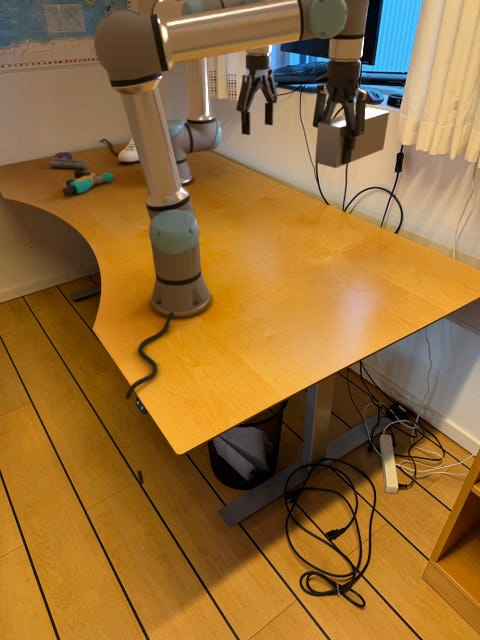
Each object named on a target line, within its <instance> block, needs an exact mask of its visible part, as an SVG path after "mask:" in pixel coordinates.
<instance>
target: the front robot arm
mask: <svg viewBox="0 0 480 640" xmlns="http://www.w3.org/2000/svg"><path fill="white" fill-rule="evenodd" d="M369 5H370V0H270V1H264V2H258V3H253V4H247V5H241V6H236V7H230V8H224V9H219V10H213V11H207V12H202V13H196V14H190V15H185V16H179V17H173V18H168V19H165V18H163V17H162V16H161V15H159V14H153V15H150V14H148V15H141V14H140V13H138V12H137V11H134V10H131V9H127V8H125V9H116V10H113V11H111V12H109V13H108V14H107V15H106V16H105V17H104V18H103V19H102V21H100V23H99V25H98V26H97V27H96V30H95V34H94V52H95V54H96V57H97V59H98V62H99V63H100V65H101V67H102V68H103V69H104V70H105V71H106V73H107V77H108V80H109V84H110V87H111V88H112V89H113V90H114V91H116V92H117V93H119V94H120V97H121V100H122V104H123V107H124V112H125V115H126V117H127V118H126V119H127V122H128V125H129V129H130V132H131V137H133V140H134V143H135V147H136V150H137V154H138V157H139V161H140V162H139V164H140V169H141V171H142V174H143V178H144V182H145V186H146V188H147V191H148V193H147V195H146V197H145V199H144V202H145V207H146V210H147V214H148V216H149V220H150V222H149V226H148V227H149V230H148V237H149V241H150V245H151V253H152V260H153V268H154V274H155V275H154V276H155V281H154V284H153V290H152V294H151V305H152V308H153V310H154V311H155V312H156V313H157V314H159V315H160V316H163V317H167V319H166V321H165V323H164V326H163V328H162V329H161V330H160V331H159V332H157V333H155V334H153V335H151V336H150V337H147V338H145V339H144V340H142V341H141V342H140V344H139V346H138V353H139V355H140V357H141V358H142V359H144V360H145V361H146V362H147V363H149V364H150V365H151V368H152V371H151V372H150V373H149V374H148V375H146V376H144V377H142V378H140V379H137V381H135V382H134V383H132V384H131V385H130V387H129V388H128V390H127V391H126V394H125V400H130V399H131V397H132V394H133V393H134V391H135V390H136V389H137V387H139V386H140V385H142V384H145V383H146V382H149V381H150V380H152V379H153V378H155V376H156V375H157V373H158V365H157V363H156V362H155V361H154V360H153V359H152V358H151V357H150V356H148V355H147V354H146V353H145V352H144V347H145V346H146V345H147V344H149V343H151V342H152V341H155V340H156V339H158V338H160V337H162V336H163V335H164V334H165V333H166V332H167V331H168V329H169V327H170V324H171V321H172V319H183V318H185V319H186V318H190V317H194V316H196V315H199V314H201V313H202V312H204V311H205V310H207V308H208V307H209V306H210V303H211V292H210V290H209V288H208V286H207V284H206V281H205V278H204V277H203V275H202V262H201V261H202V259H201V247H200V227H199V224H198V221H197V219H196V212H195V209H194V207H193V204H192V203H193V202H192V199H191V196H190V191H189V189H188V188H186V187H185V186H182V185H181V182H180V178H179V173H178V169H177V165H176V161H175V157H174V152H173V148H172V144H171V140H170V136H169V131H168V127H167V123H166V121H167V120H166V116H165V111H164V107H163V102H162V98H161V95H160V89H159V83H160V82H161V80H162V79H163V74H162V73H164V72H169V71H171V70H172V68H173V66H174V65H175V64H181V63H186V61H191V60H197V59H202V58H212V57H219V56H224V55H228V54H233V53H239V52H244V51H245V52H246V50H250V49H256V48H261V47H266V46H271V47H273V46H276V45H277V46H278V45H281V44H282V45H283V44H287V43H292V42H297V41H305V40H311V39H316V38H317V39H321V40H326V39H327V40H328V39H329V47H328V55H327V56H328V58H329V60H328V62H327V70H326V78H327V81H326V83H322V84H317V85H316V86H315V90H316V99H315V106H314V111H313V117H312V118H313V120H312V127H313V128H316V129H317V130H318V123H319V122H323V121H326V120H329V119H332V117H333V114H334V112H335V109H336V106H337V105H338V104H340V105H341V109H343V113H344V114H343V115H345V121H346V127H347V134H348V136H346V137H345V140H344V149H343V158H342V164H345V165H348V164H350V163H352V162H351V154H352V150H354V149H355V142H356V137H357V136H360V135H363V134H364V128H365V109H366V108H367V107H366V106H367V100H368V96H369V93H370V92H369V91H368V90H363V89H361V88H360V87H359V82H358V81H359V78H360V74H361V65H362V61H361V60H360V59H361V58H362V56H363V49H364V39H365V29H366V24H367V23H366V22H367V16H368V9H369ZM327 93H328V95H327ZM349 162H350V163H349ZM347 163H348V164H347ZM136 473H137V477H138V478H137V479H138V482H139V485H143V484H144V483H145V482H144V476H143V471H142V470H139V469H138V470H136Z"/></svg>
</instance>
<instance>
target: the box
mask: <svg viewBox="0 0 480 640" xmlns="http://www.w3.org/2000/svg"><path fill="white" fill-rule="evenodd" d="M389 115H390V111H389V110H382V109H377V108H371V107H366V109H365V128H364V134H363V135H360V136H357V137H356V142H355V149H354V150H352V154H351V162H349V163H347V164H342V158H343V149H344V140H345V137H346V136H348V134H347V127H346V121H345V114H343V115H339V116H335V117H333V118H331V119H329V120H326V121H323V122H319V123H318V129H317V131H316V145H315V158H314V162H315V164H319V165H323V166H325V167H326V166H327V167H330V168H334V169H338V168H340V167H343V166H345V165H348V164H350V163H352V162H355V161H357V160H360V159H362V158H365V157H368V156H371V155H373V154H375V153H377V152H381V151H383V150H384V146H385V142H386V141H385V140H386V135H387V130H388V129H387V128H388V122H389Z"/></svg>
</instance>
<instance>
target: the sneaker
mask: <svg viewBox="0 0 480 640" xmlns="http://www.w3.org/2000/svg"><path fill="white" fill-rule="evenodd" d="M118 154H119V155H118V156H117V159H118V161H119V162H122V163H134V162H138V161H139V157H138V154H137V150H136V147H135V143H134V140H133V136H131V138H130V140H129V142H128V143H127V145H126V146H125V148H123V149H122V150H121V151H120V152H119V153H118Z"/></svg>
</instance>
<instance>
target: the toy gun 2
mask: <svg viewBox="0 0 480 640" xmlns="http://www.w3.org/2000/svg"><path fill="white" fill-rule="evenodd" d="M73 175H74V179H68V180H66V182H65V184H66V186H65V187H64V188H62V193H63V195H64V197H67V196H69V195H71V194H73V193H76V194H81V193H85V192H86V191H88V190H89V189H90V188H92V187H94V185H98V184H101V183H102V182H103V183H109V182H111V181H112V180H113V178H114V174H113V173H111V172H102V173H101V175H98V174H96V173H93V172H89V171H83V170H82V169H76V170H74V172H73Z"/></svg>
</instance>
